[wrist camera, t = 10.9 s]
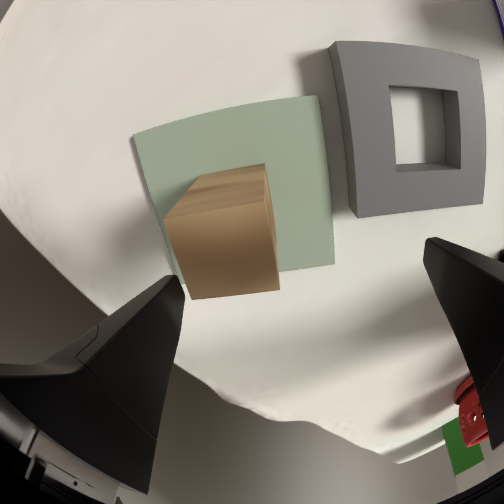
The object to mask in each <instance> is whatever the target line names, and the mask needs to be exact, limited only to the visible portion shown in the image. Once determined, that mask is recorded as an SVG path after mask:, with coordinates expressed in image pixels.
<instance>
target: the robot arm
mask: <svg viewBox="0 0 504 504" xmlns="http://www.w3.org/2000/svg"><path fill="white" fill-rule="evenodd" d="M423 263H424V266H425V269H426V271H427V273H428V276H429V278H430V281H431V283H432V285H433V288H434V291H435V293H436V295H437V298H438V300H439V302H440V304H441V306H442V308H443V310H444V312H445V314H446V316H447V318H448V321H449V323H450V325H451V327H452V329H453V332H454V334H455V336H456V338H457V341H458V343H459V345H460V348H461V350H462V353H463V355H464V358H465V360H466V363H467V366H468V368H469V371H470V374H471V377H472V379H473V382H474V385H475V388H476V391H477V394H478V396H479V397H478V398H479V401H480V405H481V408H482V411H483V415H484V419H485V422H486V426H487V430H488V435H489V439H490V444H491V447H492V450H495V449H497V448H498V447H500V446H501V445H503V444H504V250H503V251H502V252H501V253H500V256H499V260H498V261H497V260H495V259H492V258H490V257H487V256H485V255H483V254H480V253H478V252H475V251H472V250H470V249H467V248H465V247H462V246H459V245H457V244H454V243H451V242H449V241H446V240H443V239H440V238H438V237H432V238H427V239H426V241H425V248H424V256H423ZM184 303H185V294H184V291H183V288H182V286H181V283H180V281H179V278H178V277H177V276H176V275H167V276H164V277H163V278H161V279H160V280H159V281H157V282H156V283H154V284H153V285H152V286H150V287H149V288H147V289H146V290H144V291H143V292H142V293H140V294H139V295H137V296H136V297H135V298H133V299H132V300H131V301H129V302H128V303H126V304H125V305H124V306H122V307H121V308H119V309H118V310H117V311H115V312H114V313H113V314H111V315H110V316H108V317H107V318H106V319H105V320H103V321H102V322H100V323H99V325H96V326H95V327H93V328H92V329H91V330H90V331H88V332H87V333H85V334H84V335H83V336H81V337H80V338H78V339H77V340H75V341H74V342H72V343H71V344H70V345H68V346H67V347H65V348H63V349H62V350H60V351H59V352H57V353H56V354H54V355H53V356H51V357H50V358H48V359H47V360H45V361H43V362H41V363H38V364H34V365H21V364H7V363H0V504H123V503H122V502H121V500H120V498H119V497H117V493H118V490H119V487H122V488H125V489H128V490H131V491H135V492H138V493H142V494H145V495H147V494H148V491H149V484H150V478H151V472H152V466H153V460H154V455H155V449H156V443H157V440H156V439H157V437H158V432H159V427H160V422H161V417H162V412H163V407H164V402H165V398H166V393H167V388H168V384H169V379H170V375H171V370H172V366H173V362H174V358H175V354H176V349H177V345H178V341H179V337H180V332H181V325H182V317H183V310H184ZM437 504H504V469H502V470H501V471H499V472H498V473H496V474H494V475H493V476H491V477H489V478H488V479H486V480H484V481H482V482H481V483H479V484H477V485H475V486H473V487H471V488H469V489H467V490H465V491H463V492H461V493H459V494H457V495H455V496H453V497H451V498H449V499H446V500H444V501H442V502H439V503H437Z"/></svg>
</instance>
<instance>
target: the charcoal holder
mask: <svg viewBox="0 0 504 504" xmlns="http://www.w3.org/2000/svg"><path fill="white" fill-rule="evenodd" d="M329 53H330V57H331V62H332V67H333V73H334V78H335V83H336V89H337V95H338V101H339V108H340V115H341V122H342V130H343V138H344V147H345V156H346V167H347V179H348V193H349V207H350V209H351V210H352V211H353V213H354V214H355V215H356V217H357V218H364V217H372V216H380V215H388V214H396V213H404V212H413V211H421V210H430V209H439V208H448V207H457V206H467V205H476V204H483V196H484V185H485V170H486V118H485V104H484V94H483V85H482V78H481V71H480V65H479V60H478V59H475V58H471V57H467V56H463V55H459V54H455V53H451V52H446V51H441V50H436V49H431V48H425V47H419V46H412V45H404V44H395V43H384V42H367V41H335V42H334V43H333V44H332V45H331V46H330V47H329ZM389 86H391V87H411V88H424V89H434V90H442V98H443V108H444V120H445V140H446V162H445V163H416V164H398V165H396V158H395V140H394V128H393V117H392V108H391V100H390V93H389Z"/></svg>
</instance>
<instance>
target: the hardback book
mask: <svg viewBox="0 0 504 504" xmlns="http://www.w3.org/2000/svg"><path fill="white" fill-rule="evenodd" d="M470 424H471V423H470ZM442 430H443V435H444V439H445V443H446V446H447V449H448V453H449V456H450V460H451V464H452V468H453V472H454V477H455V480H456V485H457V490H458V494H459V493H461V492H463V491H465V490H467V489H469V488H471V487H473V486H475V485H477V484H479V483H481V482H482V481H484V480H486V479H488V478H489V476H488V472H487V468H486V465H485V461H484V457H483V454H482V451H481V448H480V444H479V443H477V444H475V445H473V446H470V447H466V446H465V444H464V441H463V437H462V433H461V428H460V424H459V417H457V418H455V419H454V420H452V421H450V422H448V423H446V424H445V425H443V426H442Z"/></svg>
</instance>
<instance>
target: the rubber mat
mask: <svg viewBox="0 0 504 504" xmlns="http://www.w3.org/2000/svg"><path fill="white" fill-rule="evenodd" d="M133 136H134V140H135V144H136V148H137V151H138V155H139V159H140V162H141V166H142V169H143V173H144V176H145V180H146V183H147V186H148V190H149V193H150V196H151V199H152V203H153V206H154V209H155V212H156V215H157V218H158V221H159V224H160V227H161V230H162V233H163V236H164V239H165V242H166V244H167V247H168V250H169V253H170V256H171V258H172V261H173V264H174V266H175V269H176V272H177V274H178V277H179V280H180V282H181V284H185V281H184V278H183V276H182V273H181V270H180V268H179V265H178V262H177V259H176V257H175V254H174V251H173V248H172V245H171V242H170V240H169V237H168V234H167V231H166V228H165V225H164V222H163V219H164V218H165V217H166V215H167V214H168V213H169V212H170V211H171V209H172V208H173V207H174V206H175V205H176V203H177V202H178V201H179V200H180V199H181V197H182V196H183V195H184V194H185V193H186V192H187V190H188V189H189V188H190V187H191V186H192V185H193V184H194V182H195V181H196V180H197V179H198V178H199V177H200V176H201V175H204V174H209V173H213V172H218V171H223V170H229V169H234V168H239V167H245V166H251V165H256V164H262V163H265V167H266V172H267V178H268V183H269V189H270V195H271V200H272V206H273V212H274V218H275V225H276V239H277V253H278V268H279V272H283V271H291V270H298V269H305V268H312V267H319V266H326V265H332V264H335V254H334V234H333V218H332V205H331V193H330V182H329V172H328V163H327V155H326V147H325V139H324V132H323V125H322V118H321V112H320V105H319V99H318V95H312V96H302V97H293V98H285V99H278V100H271V101H264V102H258V103H252V104H247V105H241V106H236V107H231V108H226V109H222V110H217V111H213V112H209V113H204V114H200V115H196V116H192V117H189V118H185V119H181V120H178V121H174V122H171V123H167V124H164V125H161V126H158V127H154V128H151V129H148V130H145V131H142V132H139V133H136V134H133Z"/></svg>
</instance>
